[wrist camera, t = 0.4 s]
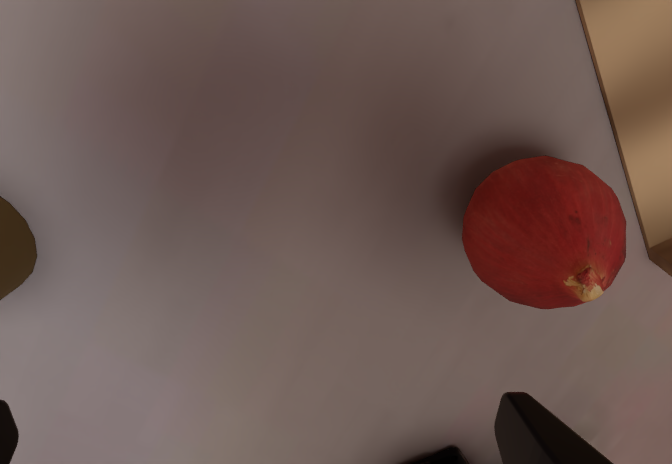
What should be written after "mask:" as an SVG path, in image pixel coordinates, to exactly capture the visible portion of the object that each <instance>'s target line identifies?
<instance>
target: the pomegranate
mask: <svg viewBox="0 0 672 464" xmlns="http://www.w3.org/2000/svg"><path fill="white" fill-rule="evenodd" d="M462 241H463V245H464V249H465V252H466V254H467V257H468V259H469V261H470V264H471V266H472V268H473V271H474V272H475V273H476V274H477V276H478V277H479V278H480V280H481V281H482V282H484V283H485V284H487V285H488V286H489V287H491V288H492V289H494V290H495V291H496V292H498V293H499V294H500V295H502V296H503V297H505V298H506V299H508V300H509V301H512V302H515V303H519V304H523V305H527V306H531V307H535V308H539V309H553V308H560V307H573V306H577V305H580V304H582V303H585V302H588V301H592V300H594V299H596V298H598V297H599V296H601V295H602V294H603V291H604V290H606V289H607V288H608V287H609V286H611V284H612V282H613V280H614V279H615V277H616V275H617V273H618V272H619V270H620V268H621V267H622V265H623V263H624V261H625V258H626V220H625V217H624V214H623V211H622V209H621V206H620V203H619V200H618V198H617V196H616V195H615V193H614V191H613V190H612V188H610V187H609V186H608V185H607V184H606V183H604V182H603V181H602V180H601V179H600V178H599V177H597V176H596V175H595V174H594V173H593V172H591V171H590V170H589V169H587V168H586V167H584V166H583V165H580V164H576V163H571V162H567V161H564V160H560V159H557V158H553V157H549V156H539V157H533V158H526V159H520V160H517V161H513V162H511V163H509V164H507V165H505V166H503V167H501V168H499V169H497V170H495V171H493V172H492V173H491V174H490V175H489V176H488V177H487V178H486V179H485V180H484V181H483V182H482V183H481V184H480V185H479V186H478V187H477V188H476V189H475V191H474V193H473V196H472V198H471V200H470V202H469V205H468V207H467V209H466V212H465V215H464V218H463V232H462Z"/></svg>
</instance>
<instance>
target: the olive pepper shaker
mask: <svg viewBox="0 0 672 464" xmlns="http://www.w3.org/2000/svg"><path fill="white" fill-rule="evenodd" d="M36 258H37V253H36V245H35V238H34V236H33V235H32V233H31V231H30V229H29V227H28V225H27V223H26V221H25V219H24V218H23V217H22V216H21V215H20V214H19V213H18V212H17V211H16V210H15V209H14V208H13V206H12V205H11V204H10V203H9V202H7V201H6V200H4V199H3V198H1V197H0V300H1V299H2V298H4V297H5V296H6V295H8V294H9V293H10V292H12V291H13V290H14V289H16V288H17V287H19V286H20V285H21V284H22V283H23V282H24V281H25V280H26V279H27V278H28V276H29V275H30V274H31V273H32V272H33V268H34V265H35V261H36Z"/></svg>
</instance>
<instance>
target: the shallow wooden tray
mask: <svg viewBox="0 0 672 464" xmlns="http://www.w3.org/2000/svg"><path fill="white" fill-rule="evenodd" d="M576 4H577V7H578V11H579V14H580V18H581V21H582V25H583V28H584V32H585V35H586V39H587V42H588V46H589V49H590V52H591V56H592V59H593V63H594V66H595V70H596V73H597V77H598V80H599V84H600V87H601V91H602V94H603V98H604V101H605V105H606V108H607V112H608V115H609V119H610V122H611V126H612V129H613V133H614V136H615V140H616V143H617V147H618V150H619V154H620V157H621V161H622V164H623V168H624V171H625V175H626V178H627V182H628V185H629V189H630V192H631V196H632V199H633V203H634V206H635V210H636V213H637V217H638V220H639V224H640V227H641V231H642V234H643V238H644V241H645V245H646V248H647V252H648V255H649V259H650V260H651V261H652V262H654V263H655V264H656V265H657V266H659V267H660V268H661V269H663V270H664V271H665V272H666V273H668V274H669V275H670V276H672V0H576Z"/></svg>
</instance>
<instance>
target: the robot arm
mask: <svg viewBox="0 0 672 464" xmlns="http://www.w3.org/2000/svg"><path fill="white" fill-rule="evenodd" d="M494 429H495V436H496V440H497V443H498V447H499V451H500V455H501V458H502V462H503V464H613V463H612V462H611V461H609V460H608V459H607V458H606V457H605V456H603V455H602V454H601V453H600V452H599V451H597V450H596V449H595V448H594V447H592V446H591V445H590V444H589V443H588V442H586V441H585V440H584V439H583V438H581V437H580V436H579V435H578V434H577V433H575V432H574V431H573V430H572V429H570V428H569V427H568V426H567V425H566V424H564V423H563V422H562V421H561V420H560V419H558V418H557V417H556V416H555V415H553V414H552V413H551V412H550V411H549V410H547V409H546V408H545V407H544V406H542V405H541V404H540V403H539V402H538V401H536V400H535V399H534V398H533V397H531V396H530V395H529V394H527V393H525V392H506V393H504V394H503V395H502V398H501V401H500V405H499V408H498V412H497V416H496V419H495V425H494ZM18 437H19V435H18V429H17V426H16V424H15V421H14V419H13V416H12V413H11V411H10V408H9V406H8V404H7V403H6V402H5V401H4V400H0V464H10V461H11V459H12V456H13V454H14V452H15V449H16V447H17V443H18ZM414 464H469V463H468V461H467V460H466V459H465V457H464V456H463V454H462V453H461V452H460V450H459V449H458V448H449V449H447V450H445V451H442V452H440V453H437V454H435V455H433V456H430V457H428V458H426V459H423V460H421V461H418V462H416V463H414Z"/></svg>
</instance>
